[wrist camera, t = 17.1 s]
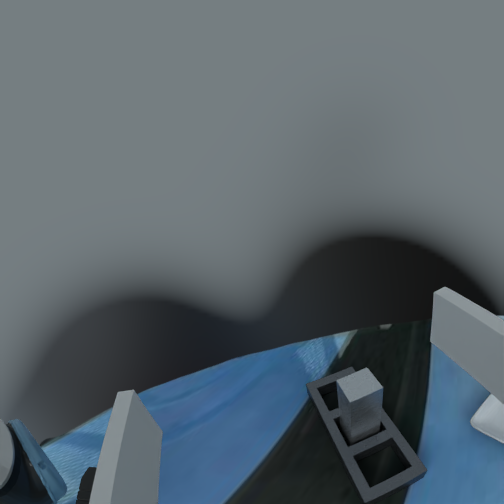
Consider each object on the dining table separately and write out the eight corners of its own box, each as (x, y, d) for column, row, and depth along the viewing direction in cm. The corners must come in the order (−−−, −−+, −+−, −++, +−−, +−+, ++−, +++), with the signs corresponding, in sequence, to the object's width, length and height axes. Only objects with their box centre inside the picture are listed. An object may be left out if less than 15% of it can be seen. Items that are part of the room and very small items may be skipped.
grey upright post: (351, 449, 33) (350, 402, 30) (340, 429, 37) (336, 380, 34) (378, 437, 33) (383, 387, 30) (366, 418, 38) (366, 367, 34)
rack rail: (363, 508, 23) (364, 502, 22) (307, 393, 47) (305, 384, 47) (423, 477, 23) (427, 470, 23) (352, 375, 48) (351, 366, 47)
